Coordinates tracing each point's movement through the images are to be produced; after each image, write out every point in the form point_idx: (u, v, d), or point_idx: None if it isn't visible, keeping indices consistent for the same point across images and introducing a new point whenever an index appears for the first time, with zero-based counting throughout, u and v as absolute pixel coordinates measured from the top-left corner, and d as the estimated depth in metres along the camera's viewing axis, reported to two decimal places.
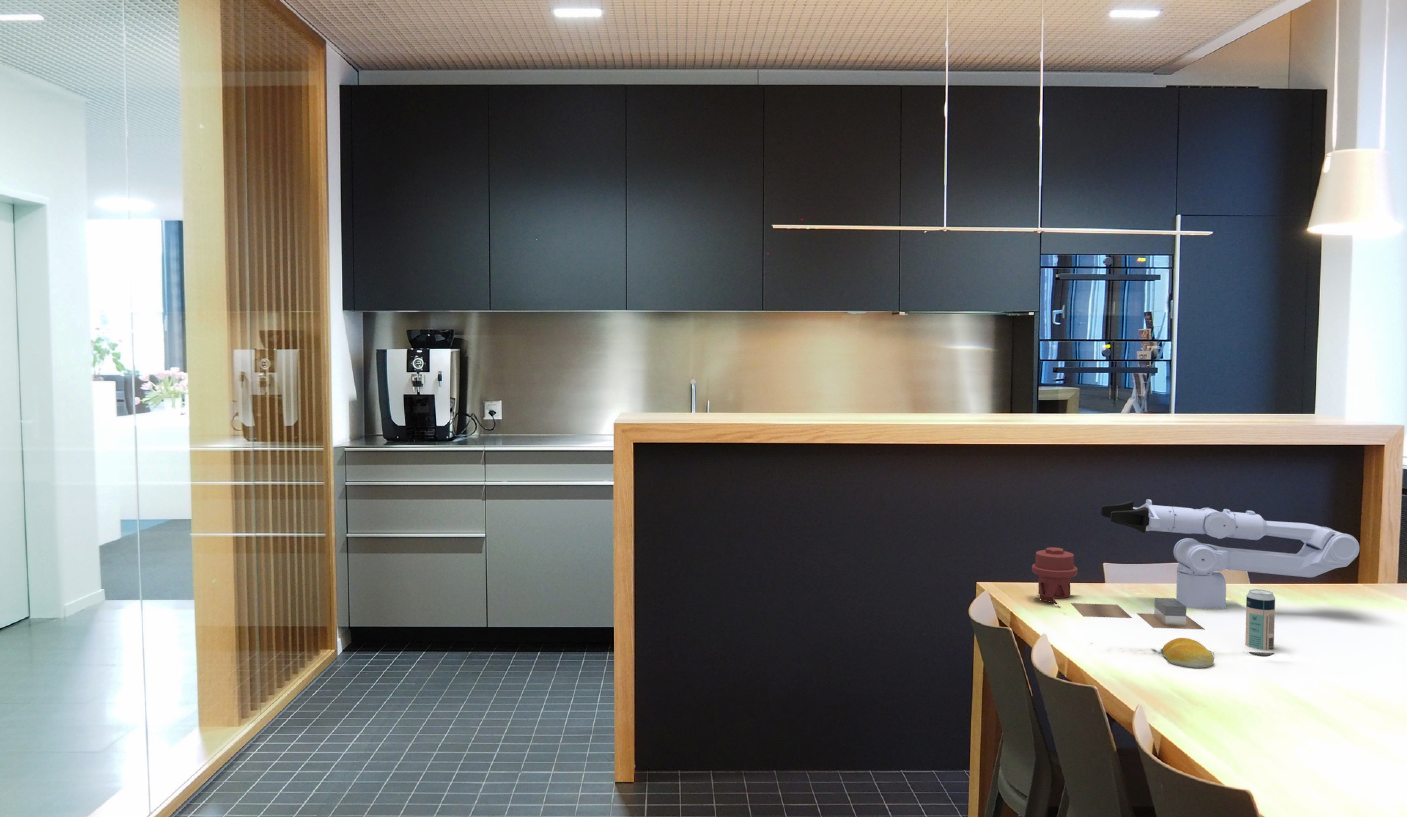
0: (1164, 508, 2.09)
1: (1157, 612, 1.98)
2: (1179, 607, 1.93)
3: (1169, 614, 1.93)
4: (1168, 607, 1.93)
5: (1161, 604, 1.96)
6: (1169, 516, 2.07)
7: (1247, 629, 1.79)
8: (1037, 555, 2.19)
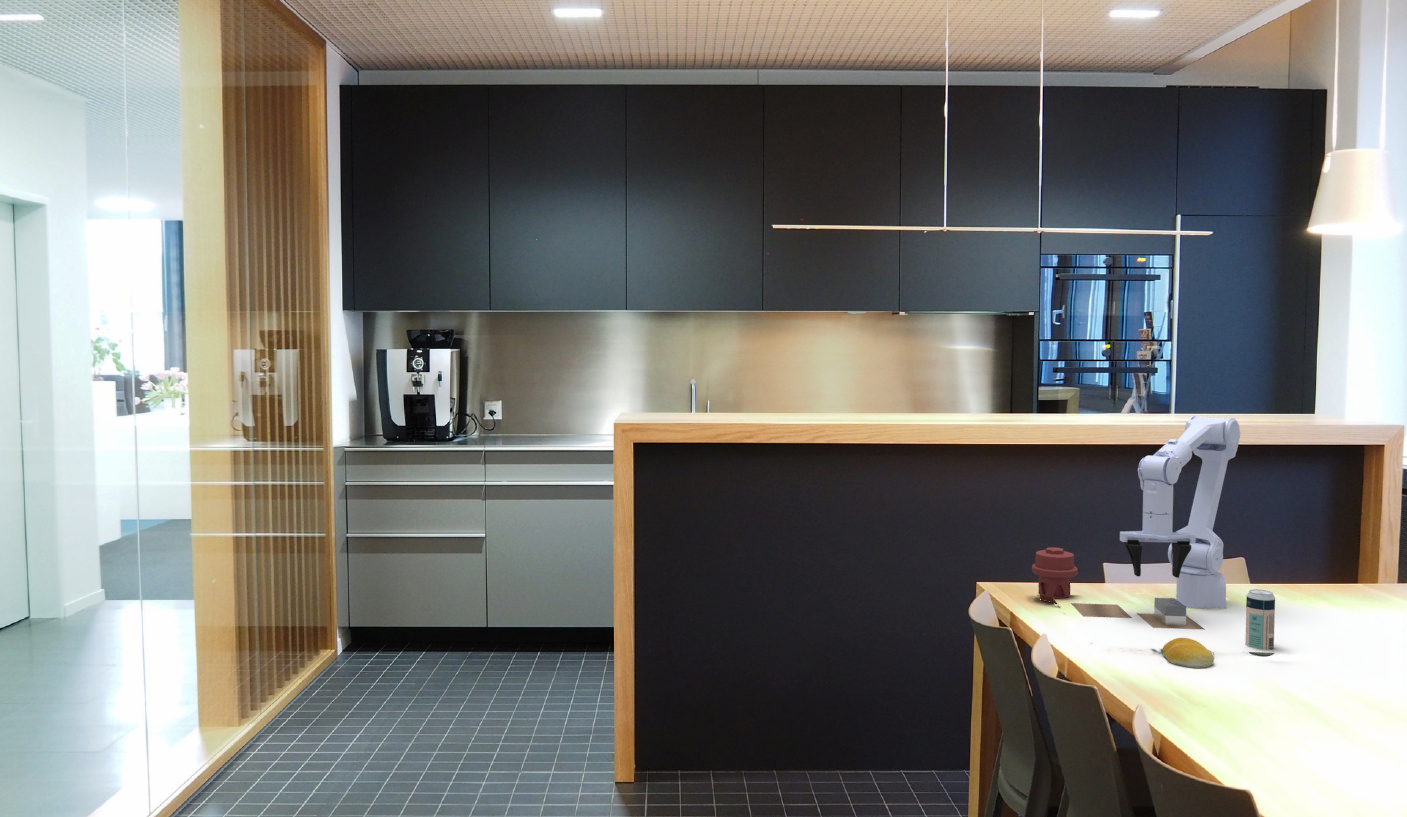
0: (1168, 522, 1.96)
1: (1157, 612, 1.98)
2: (1179, 607, 1.93)
3: (1169, 614, 1.93)
4: (1168, 607, 1.93)
5: (1161, 604, 1.96)
6: (1172, 518, 1.97)
7: (1247, 629, 1.79)
8: (1037, 555, 2.19)
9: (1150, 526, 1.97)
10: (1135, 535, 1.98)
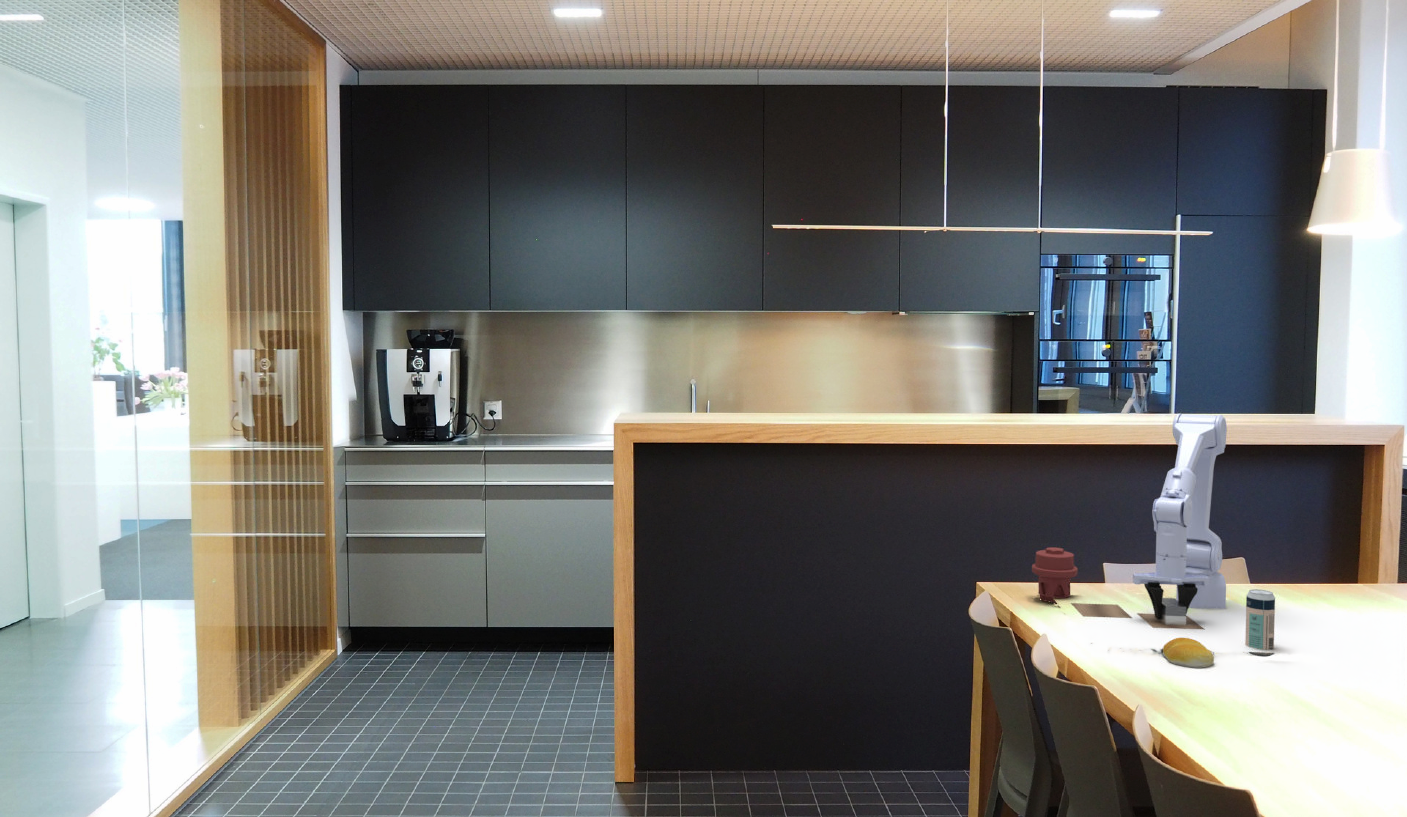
0: (1181, 565, 1.94)
1: None
2: (1179, 607, 1.93)
3: (1169, 614, 1.93)
4: (1168, 607, 1.93)
5: None
6: (1185, 560, 1.95)
7: (1247, 629, 1.79)
8: (1037, 555, 2.19)
9: (1164, 568, 1.95)
10: (1148, 577, 1.96)
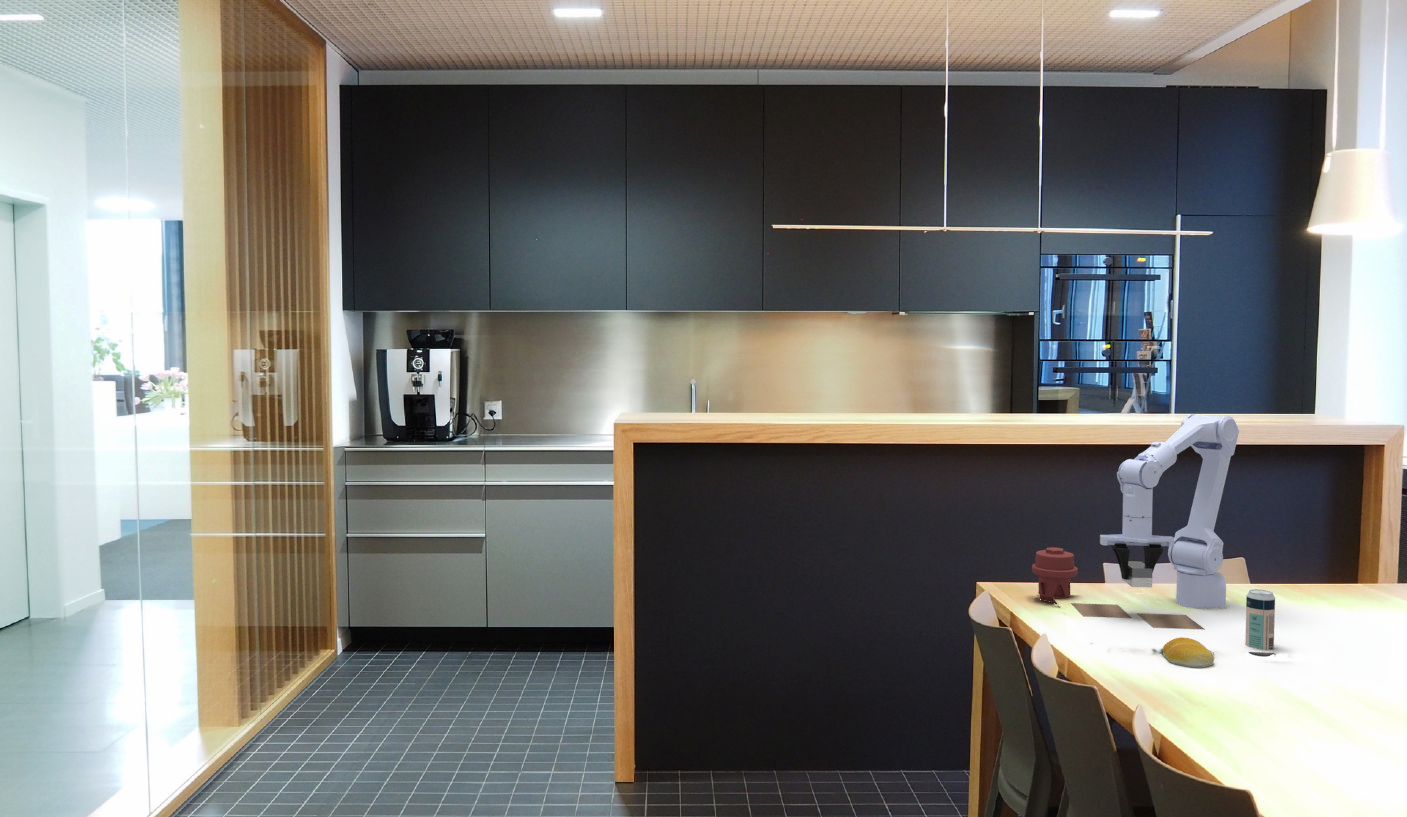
0: (1147, 526, 1.97)
1: None
2: (1145, 569, 1.97)
3: (1136, 576, 1.97)
4: (1135, 569, 1.97)
5: (1128, 567, 2.00)
6: (1151, 521, 1.99)
7: (1247, 629, 1.79)
8: (1037, 555, 2.19)
9: (1130, 529, 1.98)
10: (1115, 538, 1.99)
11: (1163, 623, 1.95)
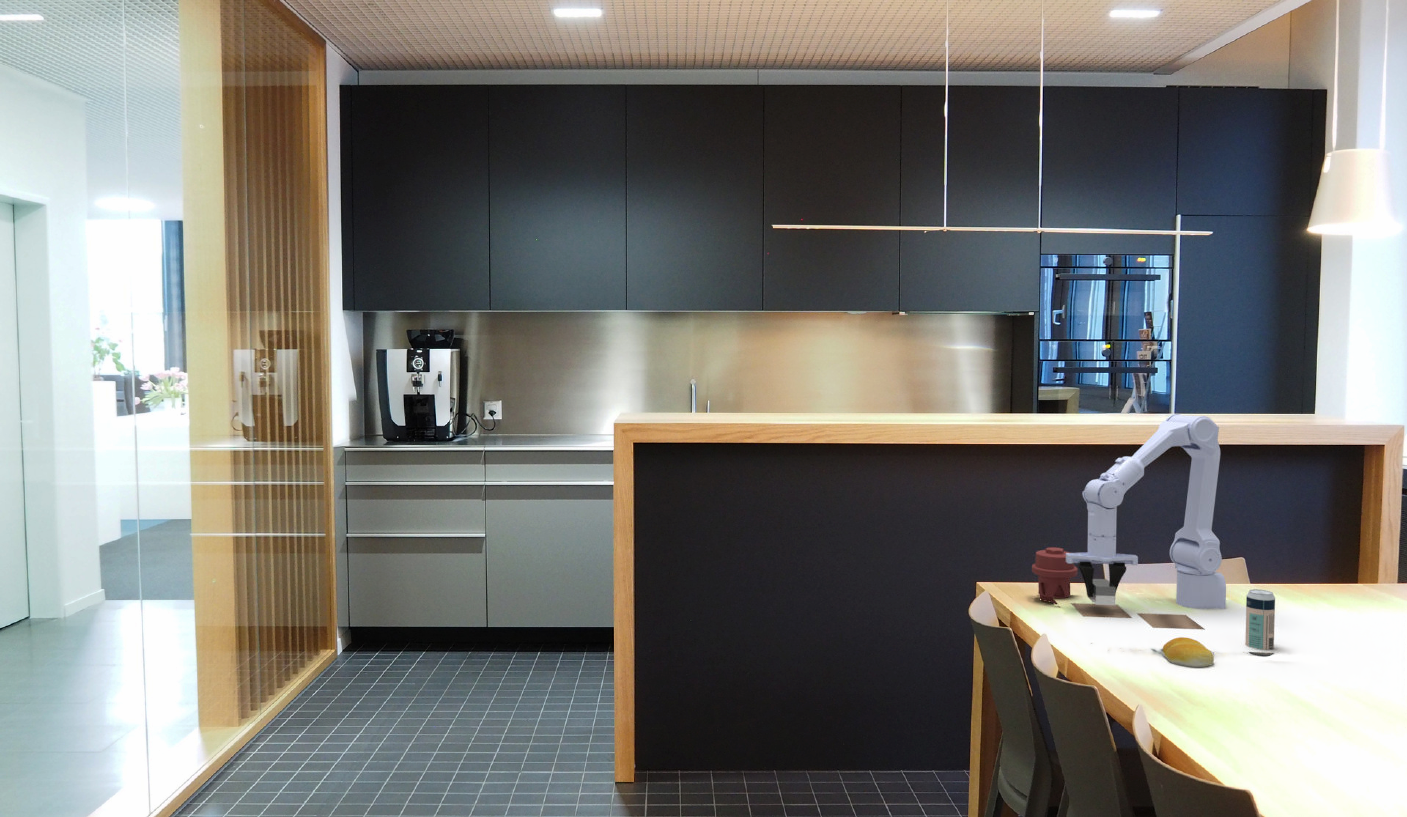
0: (1111, 545, 2.02)
1: None
2: (1109, 587, 2.01)
3: (1099, 594, 2.02)
4: (1098, 587, 2.02)
5: None
6: (1115, 540, 2.03)
7: (1247, 629, 1.79)
8: (1037, 555, 2.19)
9: (1094, 548, 2.03)
10: (1080, 557, 2.04)
11: (1163, 623, 1.95)
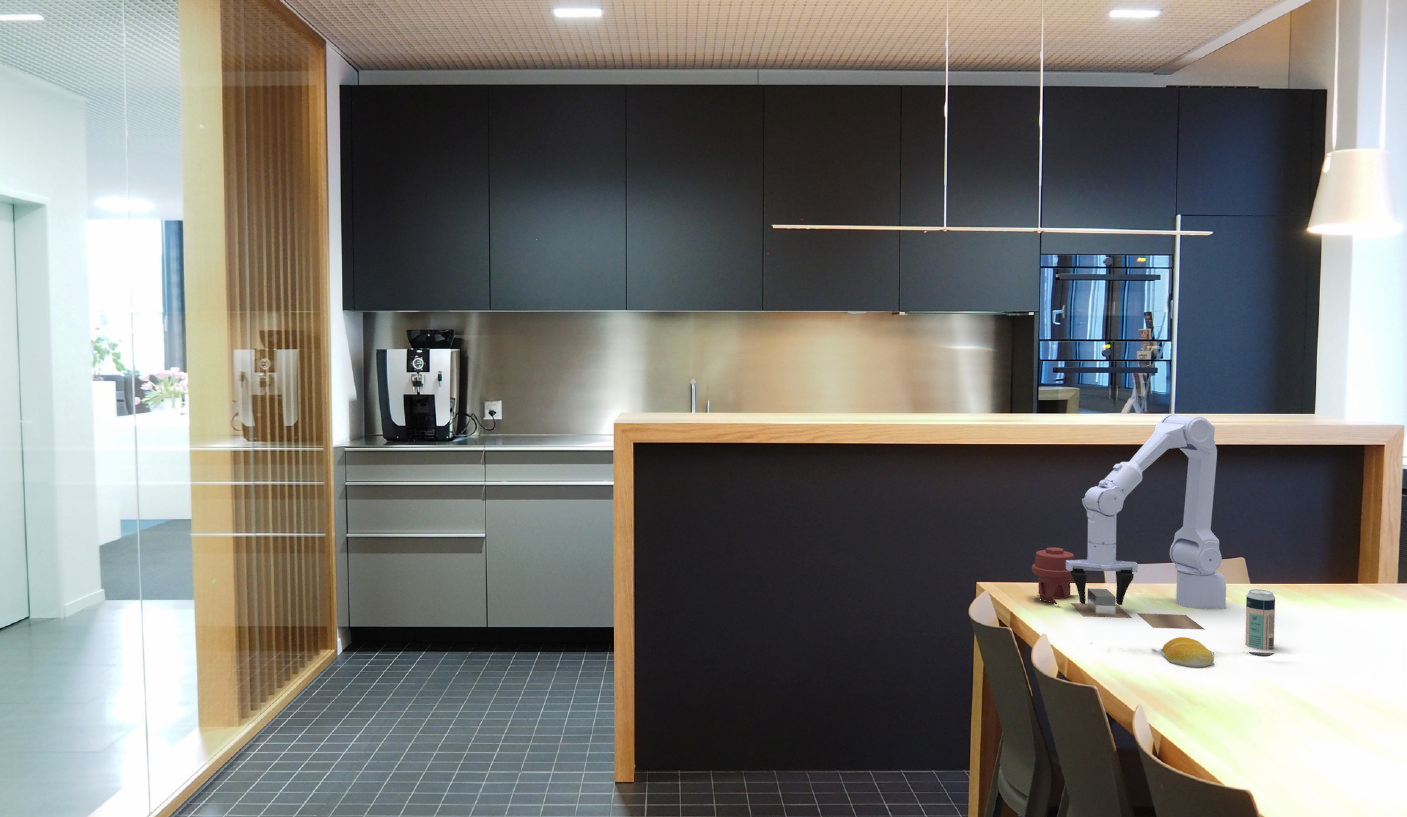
0: (1111, 552, 2.02)
1: (1090, 602, 2.07)
2: (1109, 597, 2.02)
3: (1099, 604, 2.02)
4: (1098, 597, 2.02)
5: (1092, 594, 2.04)
6: (1115, 547, 2.04)
7: (1247, 629, 1.79)
8: (1037, 555, 2.19)
9: (1094, 555, 2.03)
10: (1080, 564, 2.04)
11: (1163, 623, 1.95)
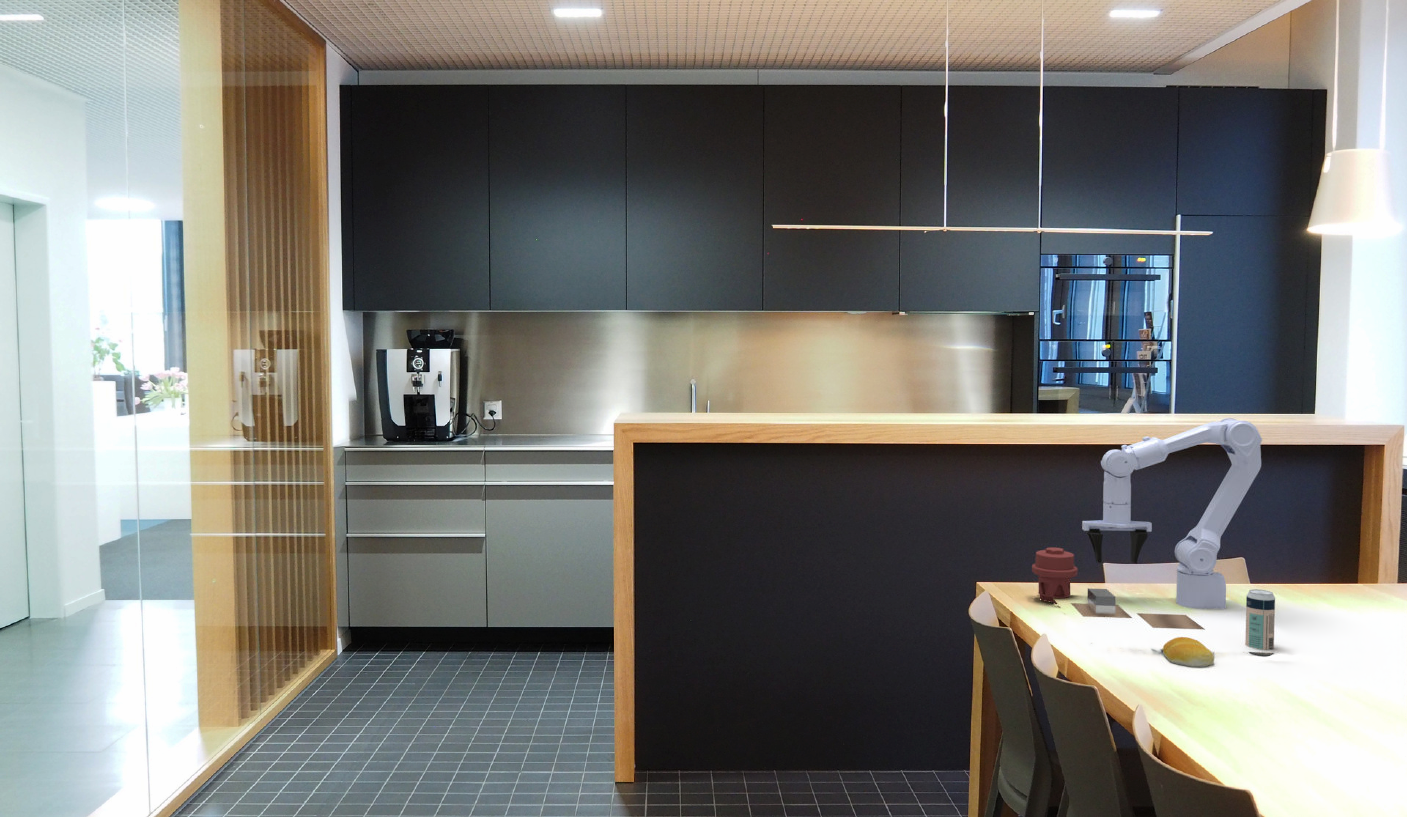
0: (1126, 512, 2.10)
1: (1090, 602, 2.07)
2: (1109, 597, 2.02)
3: (1099, 604, 2.02)
4: (1098, 597, 2.02)
5: (1092, 594, 2.04)
6: (1130, 508, 2.11)
7: (1247, 629, 1.79)
8: (1037, 555, 2.19)
9: (1110, 515, 2.11)
10: (1096, 524, 2.12)
11: (1163, 623, 1.95)
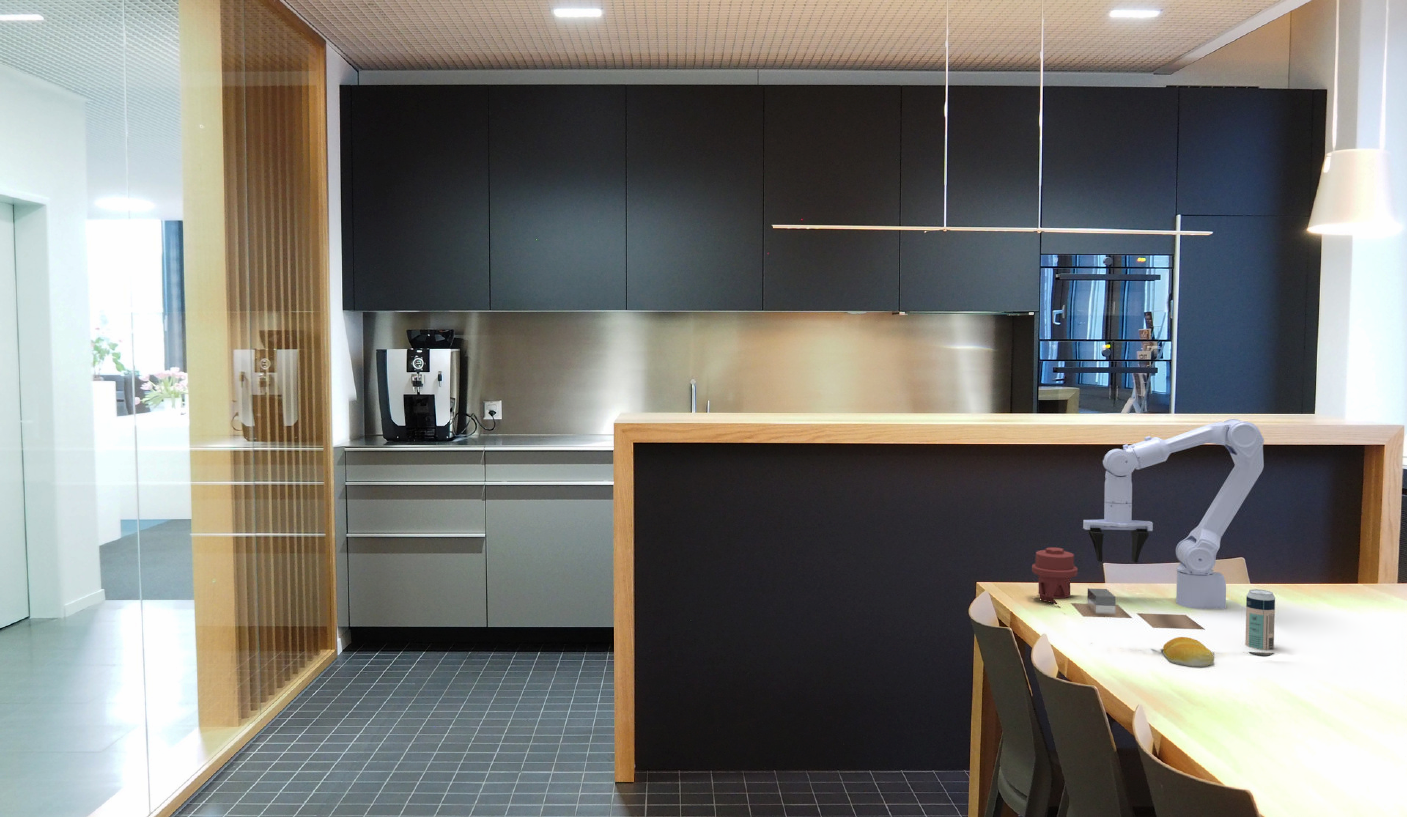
0: (1127, 511, 2.11)
1: (1090, 602, 2.07)
2: (1109, 597, 2.02)
3: (1099, 604, 2.02)
4: (1098, 597, 2.02)
5: (1092, 594, 2.04)
6: (1131, 507, 2.12)
7: (1247, 629, 1.79)
8: (1037, 555, 2.19)
9: (1111, 514, 2.12)
10: (1097, 523, 2.13)
11: (1163, 623, 1.95)
